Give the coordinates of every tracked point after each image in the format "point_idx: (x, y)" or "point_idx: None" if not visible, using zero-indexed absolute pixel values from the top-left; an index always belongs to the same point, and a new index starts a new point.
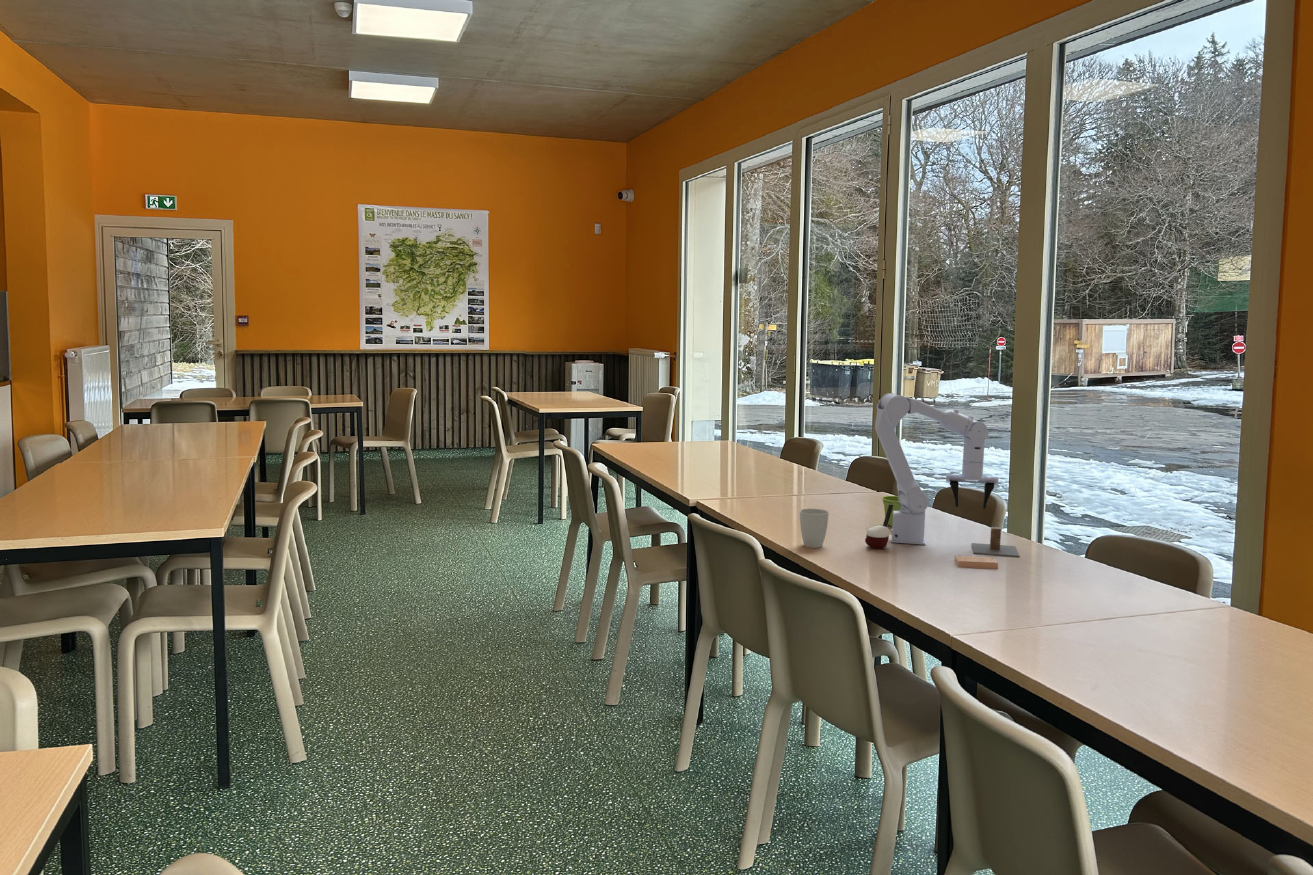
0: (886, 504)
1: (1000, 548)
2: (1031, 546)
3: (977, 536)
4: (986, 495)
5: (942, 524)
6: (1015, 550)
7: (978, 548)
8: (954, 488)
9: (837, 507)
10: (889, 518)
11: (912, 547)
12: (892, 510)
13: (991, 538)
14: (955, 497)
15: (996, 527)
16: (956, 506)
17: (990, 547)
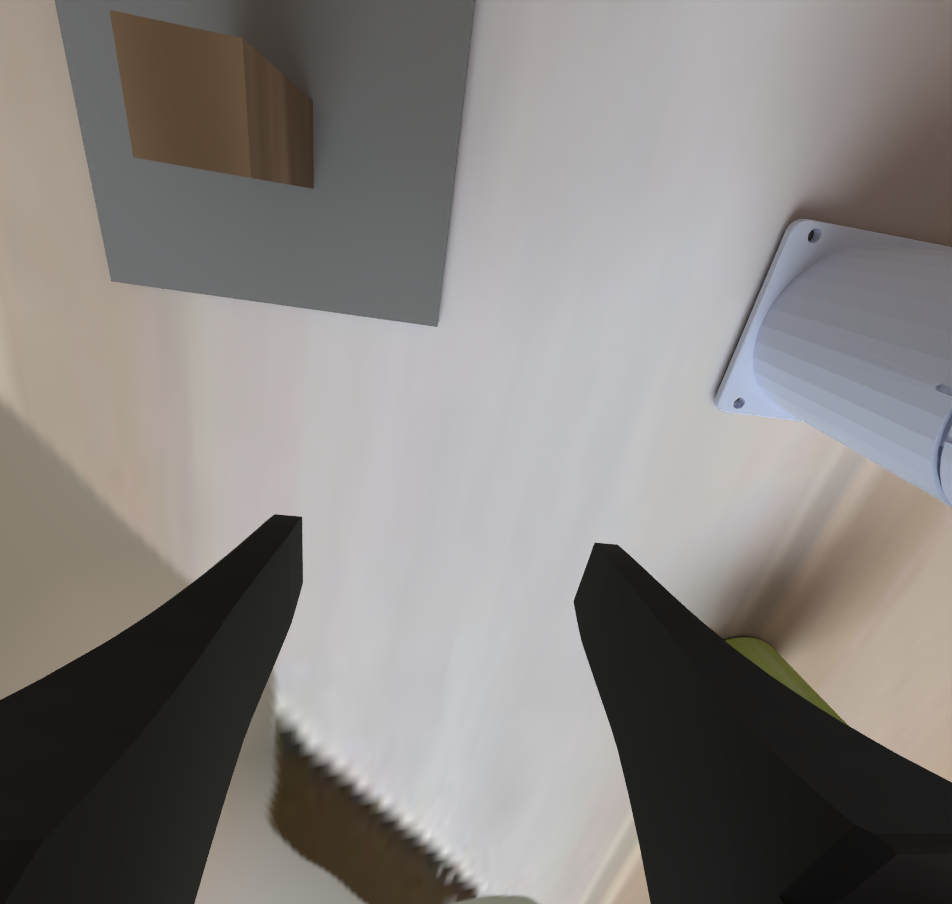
0: None
1: None
2: (3, 342)
3: (368, 543)
4: (173, 639)
5: (502, 718)
6: (88, 86)
7: (413, 117)
8: (841, 751)
9: None
10: (798, 674)
11: (921, 117)
12: (827, 710)
13: (280, 72)
14: (691, 617)
15: (182, 137)
16: (611, 546)
17: (309, 114)
